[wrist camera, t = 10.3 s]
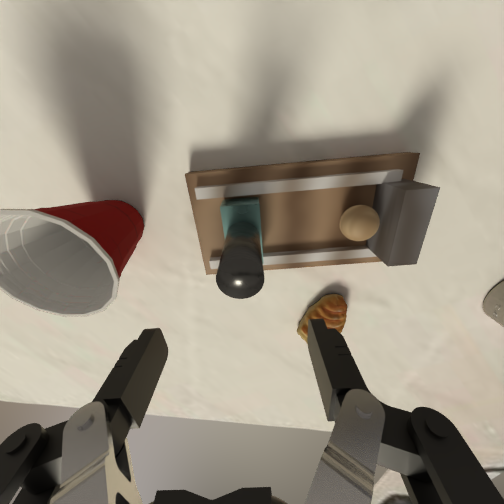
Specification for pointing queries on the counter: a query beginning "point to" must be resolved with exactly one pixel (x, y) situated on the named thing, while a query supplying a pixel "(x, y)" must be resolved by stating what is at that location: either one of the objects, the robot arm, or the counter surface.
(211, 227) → the base
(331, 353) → the robot arm
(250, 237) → the jaw
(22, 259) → the plastic cup
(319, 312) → the pastry
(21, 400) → the counter surface
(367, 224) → the walnut
